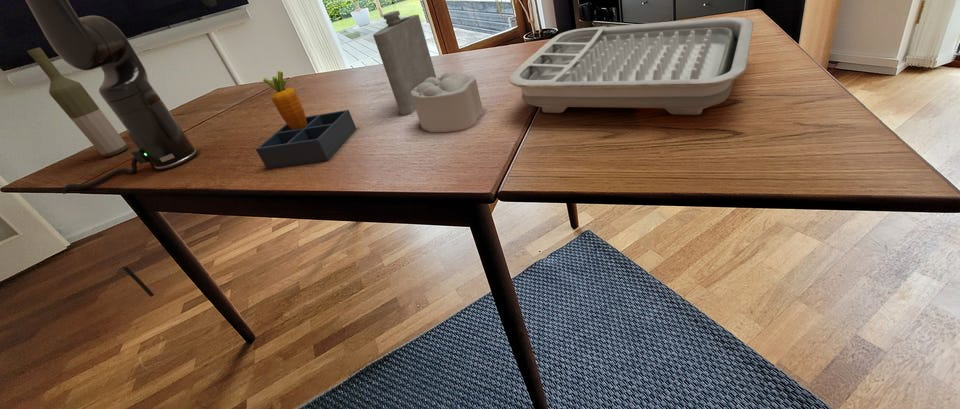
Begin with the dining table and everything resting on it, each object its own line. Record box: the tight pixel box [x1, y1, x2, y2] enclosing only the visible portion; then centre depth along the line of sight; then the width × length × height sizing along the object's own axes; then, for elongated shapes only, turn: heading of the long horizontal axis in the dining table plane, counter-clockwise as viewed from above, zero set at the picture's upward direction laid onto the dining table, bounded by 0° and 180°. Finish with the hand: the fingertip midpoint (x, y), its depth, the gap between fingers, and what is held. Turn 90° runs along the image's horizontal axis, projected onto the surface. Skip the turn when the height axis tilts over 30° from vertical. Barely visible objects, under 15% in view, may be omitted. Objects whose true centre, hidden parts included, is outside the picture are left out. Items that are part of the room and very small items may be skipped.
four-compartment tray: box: [255, 109, 357, 170], centre depth 86 cm, size 14×14×5 cm
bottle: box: [26, 47, 128, 158], centre depth 112 cm, size 7×7×30 cm
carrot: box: [262, 70, 307, 130], centre depth 87 cm, size 5×5×15 cm
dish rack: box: [508, 16, 754, 116], centre depth 74 cm, size 32×37×8 cm
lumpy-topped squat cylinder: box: [411, 71, 484, 133], centre depth 81 cm, size 10×13×9 cm
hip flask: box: [372, 10, 437, 116], centre depth 93 cm, size 16×4×20 cm, turn 156°
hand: (230, 2), depth 79 cm, fingers open, 8 cm apart
